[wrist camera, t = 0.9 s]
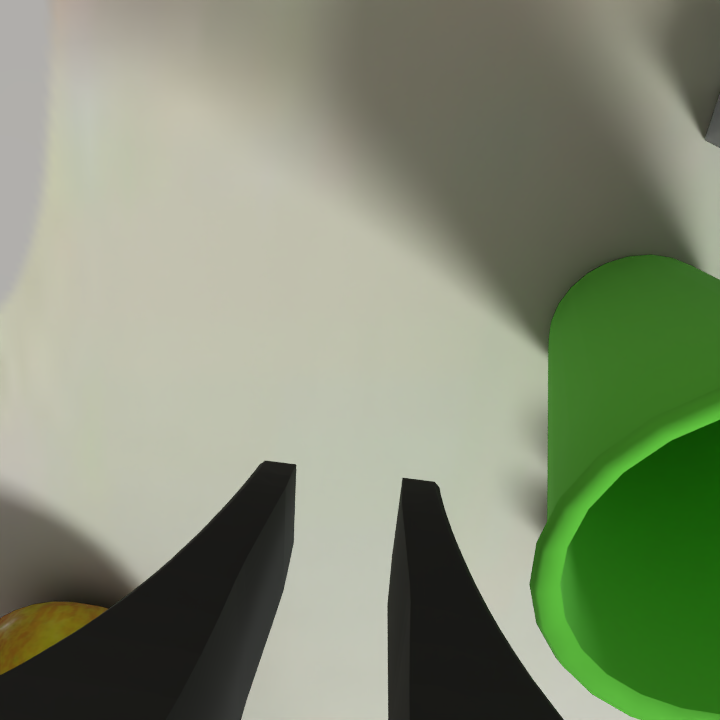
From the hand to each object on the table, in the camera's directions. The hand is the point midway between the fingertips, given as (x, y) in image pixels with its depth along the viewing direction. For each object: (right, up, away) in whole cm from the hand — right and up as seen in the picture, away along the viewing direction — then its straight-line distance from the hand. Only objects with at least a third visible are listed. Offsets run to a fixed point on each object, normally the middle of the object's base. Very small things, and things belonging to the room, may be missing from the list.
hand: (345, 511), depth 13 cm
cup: (+9, +4, +9) cm, 13 cm away
